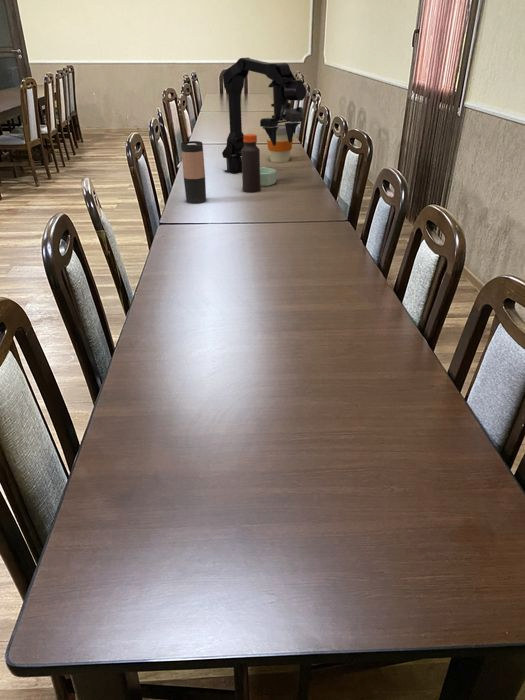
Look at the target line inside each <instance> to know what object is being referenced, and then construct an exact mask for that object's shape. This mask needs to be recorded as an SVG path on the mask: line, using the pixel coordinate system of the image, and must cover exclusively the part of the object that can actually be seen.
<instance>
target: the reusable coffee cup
mask: <svg viewBox="0 0 525 700" xmlns="http://www.w3.org/2000/svg"><path fill="white" fill-rule="evenodd" d="M276 127H278V129H277V131H276V146H273V144H272V142H271V140H270V138H269V136H268V134H267V132H266V131H265V133H266V136H267V138H266V144H267V150H268V152H269V158H270V159H269V160H270V162H272V163H287V162H289V161H290V158H291V157H290V156H291V150H292V149H293V141H294V139H293V138H292V141H291V142H289V141H288V137H287V132H286V127H285V124H282V123H279V124H278V125H277V126H276Z"/></svg>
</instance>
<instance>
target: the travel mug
mask: <svg viewBox="0 0 525 700" xmlns="http://www.w3.org/2000/svg"><path fill="white" fill-rule="evenodd" d="M180 149H181V150H180V151H181V163H182V173H183V174H182V175H183V183H184V185H183V186H184V193H185V201H186V203H188V204H202V203H205V202H206V201H207V188H206V187H207V186H206V170H205V159H204V158H205V156H204V146H203V142H202V141H198V140H189V141H187V140H186V141H183V142H181V143H180Z"/></svg>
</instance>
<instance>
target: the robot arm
mask: <svg viewBox="0 0 525 700" xmlns="http://www.w3.org/2000/svg"><path fill="white" fill-rule="evenodd" d="M249 72H254V73H257V74H261V75H265V76H266V78H268V79H269V80H271V82H270V83H269V84H268V88H272V97H273V98H272V99H273V100H272V101H273V103H271V104H270V106H271V108H273V115H271V117H263V118H261V119H260V120H259V123H260V124H259V127H262V129H263V130H264V131H265V133H266V132H267V133H266V135H267V134H268V136H269V138H270V140H271V142H272V144H273V146H276V131H277V129H278V127H276V126H277V125H279V124H283V123H284V125H285V127H286V132H287V137H288V141H289V142H291V141H292V139H293V138H294V134H295V131H296V128H297V127H298V126H299V125H300V124H301V122H303V117H304V108H303V107H302V106H297V107H295V108H294V107H292V103H291V102H289V101H293V102H295V101H304V100H305V98H306V96H307V89H306V85H305V84H304V83H303V80H302V79H298V80H297V79H296V78H295V75H294V74H293V72H292V69H291V68H290V64H289V63H287V62H267V61H263V60H258V59H254V58H250V57H240V58H238V60H236V62H235V63H234V64H232V65H231V66H230V67H228V69H227V70H225V71H224V72H223V74H222V82H223V87H224V90H225V91H226V93H227V97H228V98H227V99H228V116H229V133H228V136H227V139H226V146H225V148H224V149H223V151H221V155H222V158H223V159H225V160H226V169H224V172H225V173H229V174H237V173H242V154H241V150H242V148H243V147H244V146H245V143H244V139H243V135H245V134H244V132H243V126H242V103H241V102H242V101H241V95H242V92H243V89H244V87H245V79H247V77H248V76H249ZM292 142H293V141H292Z"/></svg>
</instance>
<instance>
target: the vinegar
mask: <svg viewBox="0 0 525 700" xmlns="http://www.w3.org/2000/svg"><path fill="white" fill-rule="evenodd" d="M243 139H244V143H245V146H244V147H243V148H242V150H241V154H242V156H241V157H242V172H241V176H242V178H241V179H242V180H241V181H242V191H243V192H246V193H257V192H260V191H261V187H260V167H261V154H260V152H261V151H260V148H259V147H258V145H257V141H258V135H257V134H254V133H248V134H247V133H246V134H244V135H243Z"/></svg>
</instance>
